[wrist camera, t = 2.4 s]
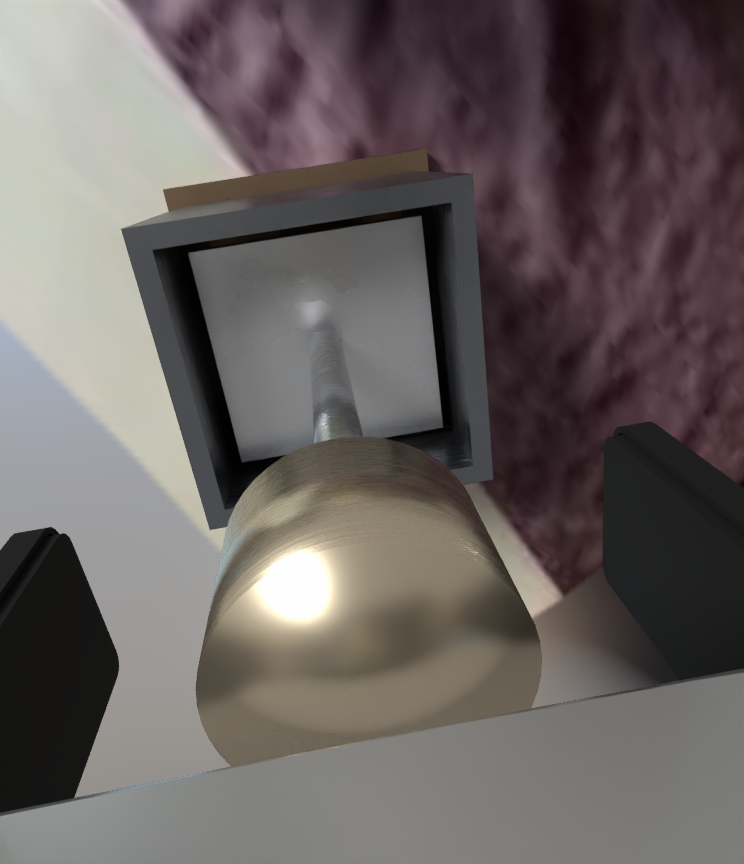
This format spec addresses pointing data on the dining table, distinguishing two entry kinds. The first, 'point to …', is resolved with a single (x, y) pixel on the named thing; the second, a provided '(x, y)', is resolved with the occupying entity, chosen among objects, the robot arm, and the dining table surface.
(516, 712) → the robot arm
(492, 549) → the plunger
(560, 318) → the dining table surface
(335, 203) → the press housing
